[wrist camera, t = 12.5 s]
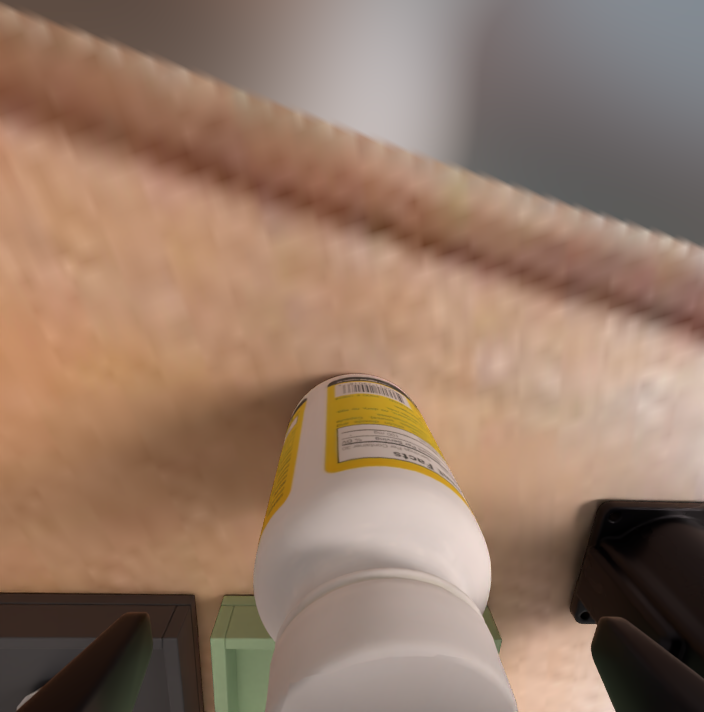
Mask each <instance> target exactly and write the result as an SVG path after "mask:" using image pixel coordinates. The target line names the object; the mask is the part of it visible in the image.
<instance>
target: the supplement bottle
mask: <svg viewBox="0 0 704 712" xmlns="http://www.w3.org/2000/svg"><path fill="white" fill-rule="evenodd" d="M490 587H491V562H490V557H489V552H488V548H487V545H486V542H485V539H484V536H483V534H482V532H481V529H480V527H479V524H478V522H477V520H476V518H475V516H474V514H473V512H472V510H471V508H470V506H469V504H468V503H467V501H466V499H465V497H464V495H463V493H462V491H461V490H460V488H459V486H458V484H457V482H456V480H455V478H454V476H453V474H452V472H451V470H450V468H449V467H448V465H447V463H446V461H445V459H444V457H443V455H442V453H441V451H440V449H439V447H438V446H437V444H436V442H435V440H434V438H433V436H432V434H431V432H430V430H429V428H428V427H427V425H426V423H425V421H424V419H423V417H422V415H421V413H420V412H419V410H418V408H417V407H416V405H415V404H414V402H413V401H412V400H411V399H410V397H409V396H408V395H407V394H406V393H405V392H404V391H403V390H402V389H400V388H399V387H398V386H396V385H395V384H393V383H391V382H389V381H387V380H385V379H383V378H380V377H377V376H373V375H367V374H346V375H341V376H337V377H334V378H331V379H329V380H326V381H324V382H322V383H320V384H319V385H317V386H316V387H314V388H313V389H312V390H310V391H309V392H308V393H307V394H306V395H305V396H304V397H303V398H302V399H301V401H300V402H299V403H298V405H297V406H296V408H295V410H294V412H293V414H292V416H291V419H290V422H289V424H288V428H287V431H286V436H285V440H284V444H283V448H282V452H281V455H280V459H279V463H278V468H277V471H276V475H275V480H274V484H273V488H272V491H271V495H270V499H269V504H268V508H267V511H266V515H265V519H264V522H263V527H262V531H261V535H260V539H259V543H258V549H257V554H256V559H255V565H254V574H253V588H254V597H255V601H256V606H257V609H258V613H259V616H260V618H261V621H262V623H263V625H264V626H265V628H266V630H267V632H268V633H269V635H270V636H271V637H272V639H273V640H274V641H275V650H274V652H273V656H272V660H271V663H270V673H269V683H268V692H267V701H266V708H265V712H518V708H517V704H516V700H515V697H514V694H513V692H512V689H511V686H510V684H509V681H508V678H507V676H506V673H505V671H504V668H503V665H502V663H501V660H500V657H499V655H498V652H497V649H496V646H495V643H494V640H493V637H492V635H491V633H490V631H489V629H488V627H487V625H486V624H485V621H484V618H483V616H482V615H483V613H484V611H485V608H486V605H487V602H488V598H489V593H490Z"/></svg>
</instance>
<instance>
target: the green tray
mask: <svg viewBox="0 0 704 712" xmlns="http://www.w3.org/2000/svg"><path fill="white" fill-rule="evenodd" d="M482 616H483V618H484V621H485V624H486V625H487V627H488V629H489V631H490V633H491V635H492V637H493V640H494V643H495V646H496V649H497V652H498V655H499V651H500V647H501V642H502V639H501V636H500V634H499V632H498V629H497V627H496V624H495V622H494V620H493V617H492V615H491V613H490V610H489V608H488V606H487V605H486V608H485V611H484V613H483V615H482ZM210 644H211V659H212V674H213V689H214V703H215V712H265V708H266V701H267V692H268V683H269V673H270V663H271V660H272V656H273V652H274V650H275V641H274V640H273V639H272V637H271V636H270V635H269V633H268V632H267V630H266V628H265V626H264V625H263V623H262V621H261V618H260V616H259V613H258V609H257V606H256V601H255V597H254V596H224V597H223V600H222V603H221V607H220V610H219V613H218V616H217V619H216V622H215V625H214V628H213V631H212V634H211V637H210Z"/></svg>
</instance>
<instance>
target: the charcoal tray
mask: <svg viewBox="0 0 704 712" xmlns="http://www.w3.org/2000/svg"><path fill="white" fill-rule="evenodd" d="M127 612H146V613H148V614H149V616H150V623H151V631H152V638H153V650H152V654H151V658H150V661H149V664H148V667H147V670H146V673H145V676H144V679H143V682H142V685H141V687H140V690H139V693H138V696H137V699H136V702H135V705H134V708H133V711H132V712H204V709H203V697H202V684H201V672H200V659H199V647H198V634H197V621H196V609H195V596H194V595H105V594H0V712H16V711H17V707H18V705H19V704H20V703H21V702H22V700H23V699H24V698H25V697H26V696H27V695H29V694H31V693H32V692H34V691H36V690H38V689H39V688H41V687H43V686H44V685H45V684H47V683H48V682H49V681H50V680H51V679H52V678H53V677H54V676H55V675H56V674H58V673H59V672H60V671H61V670H62V669H63V668H64V667H65V666H66V665H68V664H69V663H70V662H71V661H72V660H73V659H74V658H75V657H76V656H78V655H79V654H80V653H81V652H82V651H83V650H84V649H85V648H86V647H87V646H89V645H90V644H91V643H92V642H93V641H94V640H95V639H96V638H97V637H99V636H100V635H101V634H102V633H103V632H104V631H105V630H106V629H107V628H109V627H110V626H111V625H112V624H113V623H114V622H115V621H116V620H117V619H118V618H120V617H121V616H122V615H123V614H125V613H127Z"/></svg>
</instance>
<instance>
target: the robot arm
mask: <svg viewBox="0 0 704 712" xmlns="http://www.w3.org/2000/svg"><path fill="white" fill-rule="evenodd" d="M612 513H613V514H612ZM570 612H571V614H572V615H573V617H574V618H575V620H576V621H577V622H578V623H581V624H597V627H596V631H595V634H594V637H593V640H592V644H591V652H592V657H593V660H594V662H595V665H596V667H597V669H598V672H599V674H600V676H601V679H602V681H603V683H604V686H605V688H606V690H607V693H608V695H609V697H610V700H611V702H612V704H613V706H614V709H615V711H616V712H704V503H670V502H627V501H609V502H605V503H603V504H602V505H601V506H600V507H599V509H598V510H597V514H596V517H595V521H594V525H593V528H592V532H591V535H590V539H589V542H588V546H587V549H586V553H585V556H584V560H583V564H582V567H581V571H580V574H579V578H578V581H577V585H576V588H575V592H574V595H573V599H572V603H571V606H570ZM152 650H153V638H152V631H151V623H150V616H149V614H148V613H146V612H127V613H125V614H123V615H122V616H121V617H120V618H118V619H117V620H116V621H115V622H114V623H113V624H112V625H111V626H110V627H109V628H107V629H106V630H105V631H104V632H103V633H102V634H101V635H100V636H99V637H97V638H96V639H95V640H94V641H93V642H92V643H91V644H90V645H89V646H87V647H86V648H85V649H84V650H83V651H82V652H81V653H80V654H79V655H78V656H76V657H75V658H74V659H73V660H72V661H71V662H70V663H69V664H68V665H66V666H65V667H64V668H63V669H62V670H61V671H60V672H59V673H58V674H56V675H55V676H54V677H53V678H52V679H51V680H50V681H49V682H48V683H47V684H45V685H44V686H43V687H42V688H41V689H40V690H39V691H38V692H37V693H35V694H34V695H33V696H32V697H31V698H30V699H29V700H28V701H27V702H25V703H24V704H23V705H22V706H21V707H20V708H19V709H18V710H17V711H16V712H132V711H133V708H134V705H135V702H136V699H137V696H138V693H139V690H140V687H141V685H142V682H143V679H144V676H145V673H146V670H147V667H148V664H149V661H150V658H151V654H152Z"/></svg>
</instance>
